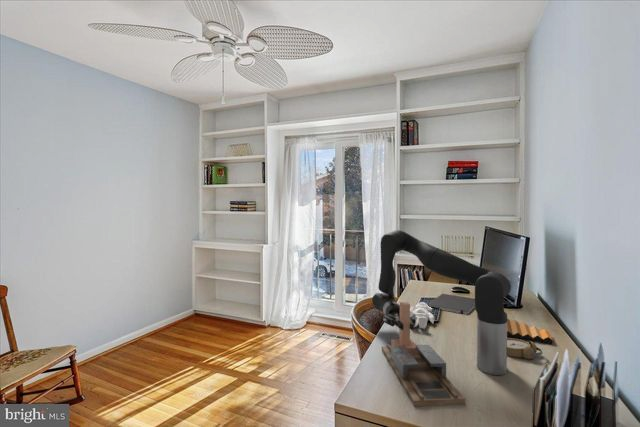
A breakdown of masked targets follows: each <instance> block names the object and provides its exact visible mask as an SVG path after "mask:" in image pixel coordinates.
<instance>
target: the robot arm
mask: <svg viewBox="0 0 640 427" xmlns="http://www.w3.org/2000/svg"><path fill="white" fill-rule="evenodd" d="M401 251H404V252H408V253H410V254H412V255H413V256H415V257H416V258H417V259H418V260H419V262H420V263H421V264H422V265H423V266H424V268H426V269H428V270H429V271H430V272H431V271H432V272H433V273H435V274H437V275H440V276H443V277H446V278H450V279H453V280H458V281H462V282H466V283H468V284H470V285H473V286H474V299H475V307H474V309H475V312H476V316H477V317H476V367H477V369H479V371H481V372H484V373H486V374H489V375H492V376H493V375H495V376H501V375H502V376H503V375H505V374H507V370H508V355H507V319H508V314H507V312H506V311H505V308H504V306H505V302H504V300H505V299H504V298H506V296H508V295H509V294H510V292H511V290H512V285H511V282H510V280H509V279H508V278H507V277H506V276H505V275H503V274H502V273H500V272H497V271H494V270H491V269H489V268H488V269H487V268H485V267H482V266H479V265H476V264H474V263H471V262H470V261H467V260H465V259H463V258H461V257H458V256H456V255H454V254H452V253H450V252H447V251H446V250H443V249H441V248H439V247H436V246H433V245H431V244H429V243H427V242H424V241H422V240H419V239H418V238H416V237H415V236H413V235H411V234H409V233H407V232H406V231H403V230H402V229H401V230H400V229H394V230H392V231H390V232H387V233H385V234H383V235H382V237H381V240H380V274H379V280H378V290H379V291H380V292H377V293H374V295H373V296H372V298H371V303H372V305H373V307H374V308H375V309H376V310H378V311H380V312H382V313H383V314H384V315H383V318H382V319H383V320H382V321H383V323H384V324H387V325H389V326H391V327H394V326H395V327H396V328H398V329H399V330H400V329H401V330H403V323H402V322H401V321H400V303H398V302H396V299H395V284H396V278H397V275H396V270H395V267H394V259H395V256H396V253H397V254H398V253H399V252H401ZM415 323H416V315H413V316H410V331H411V330H414V329H415V327H414V326H415Z"/></svg>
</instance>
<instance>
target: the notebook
mask: <svg viewBox="0 0 640 427" xmlns="http://www.w3.org/2000/svg"><path fill="white" fill-rule="evenodd" d="M426 304H427V305H432V306H437V307H440V308H441V311H444V312H445V311H446V312H452V313H457V314H461V315H468V314H470V312H472V311H473V309H475V298H472V297H469V296H467V297H466V296H460V295H453V294H447V293H441V294H440V295H438V296H437V297H435V298H434V299H433V300H430V301H429V302H427V303H426Z"/></svg>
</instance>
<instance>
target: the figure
mask: <svg viewBox="0 0 640 427" xmlns="http://www.w3.org/2000/svg"><path fill="white" fill-rule="evenodd" d="M427 304H428V303H426V302H424V301H420V302H419V303H417V304H416V305H415V306H410V316H413V315H416V323H415V326H414V328H417V326H419V328H420V329H426V328H427V324H428V321H430V323H431V324H433V325H434V322H435V315H434V314H432V313H431V312H432V311H433V308H431V307H429V306H428V305H427Z"/></svg>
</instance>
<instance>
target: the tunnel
mask: <svg viewBox="0 0 640 427" xmlns="http://www.w3.org/2000/svg"><path fill="white" fill-rule="evenodd" d="M390 346H391V345H390ZM415 348H416V349H417V350H418V352H419V353H420V354H421V355H422V357H423V358H424V359H425V360H426V361H427V363H428V364H429V365H430V366H431V367H435V368H436V370H437V371H438V372H439V373H440V374H441V376H442V377H443V378H444V379H446V377H447V362H446V361H445V360H444V359H443V358H442V357H441V356H440V355H439V353H437V352H436V350H434V349H433V347H432V346H431V345H430V344H416V345H415ZM391 361H392V362H393V364H394V366H395V367H396V369H397V371H398V372H399V374H400V376H401V377H402V379H403V380H408V368H414V367H419V364H418V363H417V361H416V360H415V359H414V357H413V356H412V355H411V353H410V352H409V351H408V349H407V348H406V347H405V346H391Z"/></svg>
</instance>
